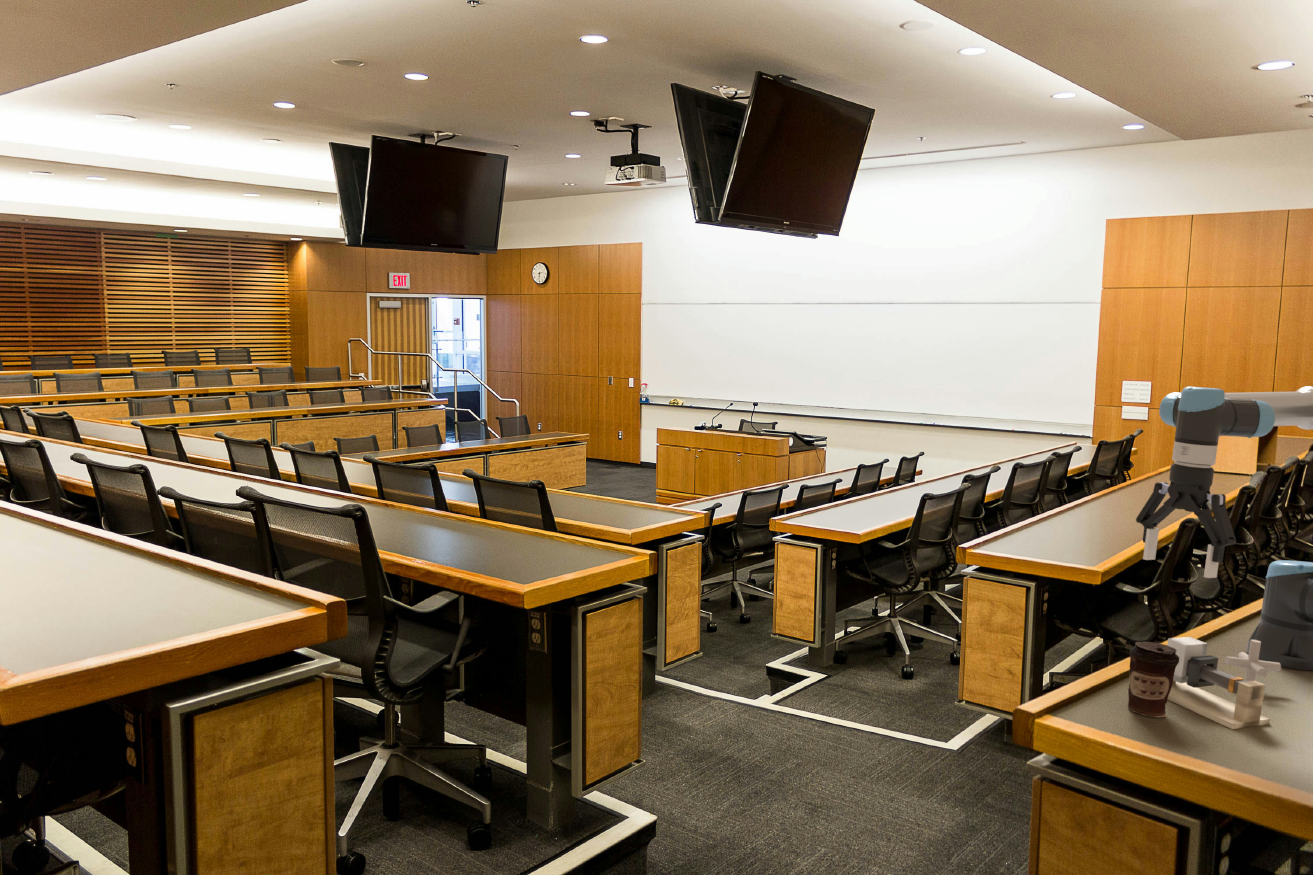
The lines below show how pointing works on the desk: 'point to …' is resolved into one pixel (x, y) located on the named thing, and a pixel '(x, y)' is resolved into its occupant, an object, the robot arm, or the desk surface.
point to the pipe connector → (1253, 662)
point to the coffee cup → (1151, 677)
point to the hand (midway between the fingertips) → (1178, 568)
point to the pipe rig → (1219, 708)
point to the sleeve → (1186, 654)
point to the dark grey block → (1195, 670)
